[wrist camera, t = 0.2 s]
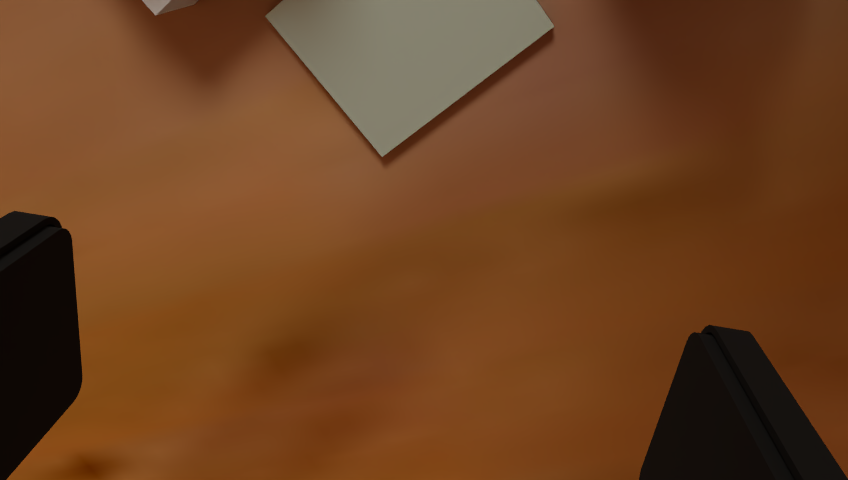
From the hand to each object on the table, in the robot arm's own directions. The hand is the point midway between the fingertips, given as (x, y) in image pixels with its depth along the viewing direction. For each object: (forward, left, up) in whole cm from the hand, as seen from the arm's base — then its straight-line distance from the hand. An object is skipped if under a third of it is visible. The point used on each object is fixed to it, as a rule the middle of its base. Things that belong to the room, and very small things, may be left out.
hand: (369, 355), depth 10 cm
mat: (+1, -2, -31) cm, 31 cm away
